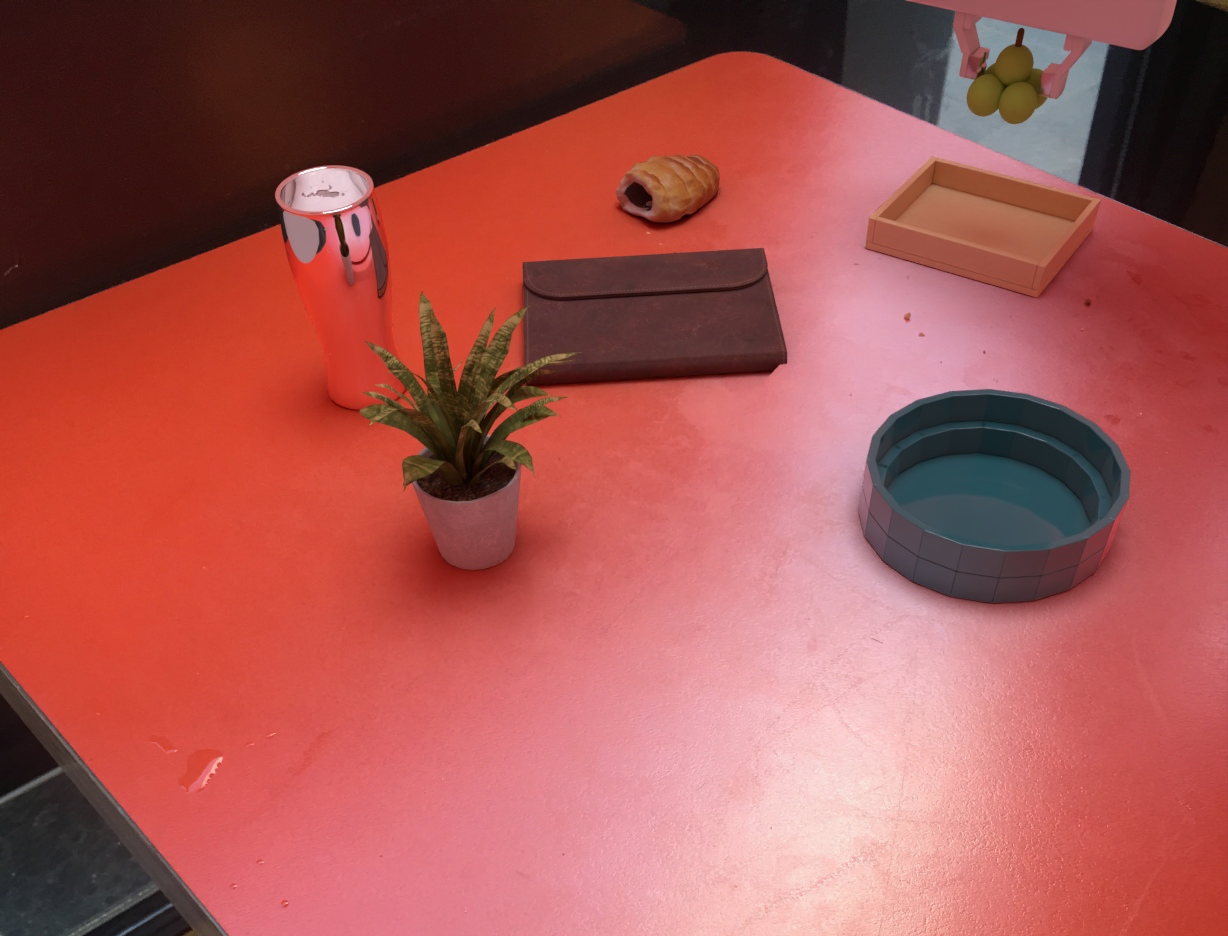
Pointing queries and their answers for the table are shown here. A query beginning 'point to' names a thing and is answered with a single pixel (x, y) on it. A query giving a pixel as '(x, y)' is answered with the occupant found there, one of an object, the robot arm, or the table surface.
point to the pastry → (668, 187)
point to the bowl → (992, 495)
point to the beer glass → (342, 276)
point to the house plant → (466, 438)
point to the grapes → (1008, 85)
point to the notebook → (652, 316)
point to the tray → (983, 225)
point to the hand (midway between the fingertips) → (1009, 85)
